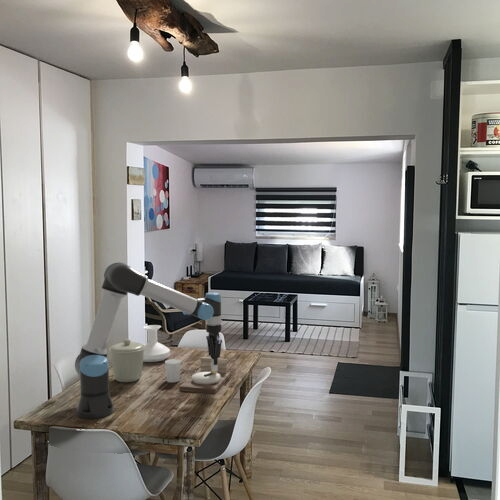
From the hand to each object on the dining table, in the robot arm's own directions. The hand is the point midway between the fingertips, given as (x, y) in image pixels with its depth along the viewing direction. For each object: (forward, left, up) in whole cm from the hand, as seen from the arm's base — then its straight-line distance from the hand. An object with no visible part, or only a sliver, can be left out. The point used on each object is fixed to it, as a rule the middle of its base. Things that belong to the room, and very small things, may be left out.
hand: (214, 370), depth 261 cm
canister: (-35, +30, -7) cm, 46 cm away
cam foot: (-4, +1, -4) cm, 6 cm away
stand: (-3, +3, -7) cm, 8 cm away
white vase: (-11, +58, -7) cm, 59 cm away
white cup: (-16, +16, -7) cm, 23 cm away
